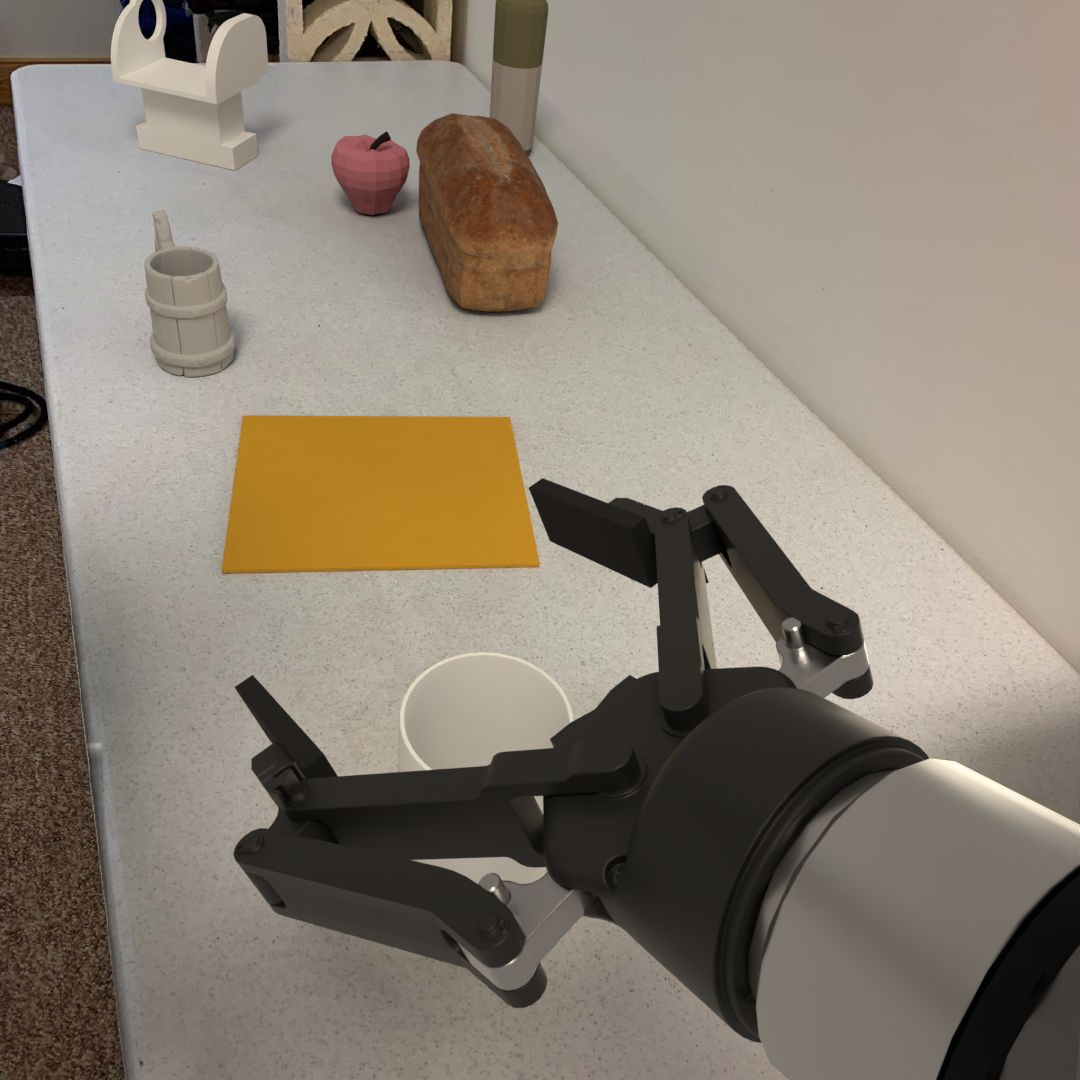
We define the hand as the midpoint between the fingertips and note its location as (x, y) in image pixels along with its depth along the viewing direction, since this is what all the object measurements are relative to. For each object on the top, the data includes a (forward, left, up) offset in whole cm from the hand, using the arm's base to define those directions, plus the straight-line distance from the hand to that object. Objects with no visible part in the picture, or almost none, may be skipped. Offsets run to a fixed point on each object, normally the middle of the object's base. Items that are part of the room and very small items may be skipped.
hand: (412, 602), depth 38 cm
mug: (-18, +61, -26) cm, 68 cm away
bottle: (+20, +116, -26) cm, 120 cm away
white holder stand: (-22, +111, -26) cm, 116 cm away
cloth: (0, +39, -25) cm, 46 cm away
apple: (0, +94, -26) cm, 97 cm away
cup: (+4, +2, -26) cm, 26 cm away
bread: (+12, +81, -26) cm, 85 cm away
